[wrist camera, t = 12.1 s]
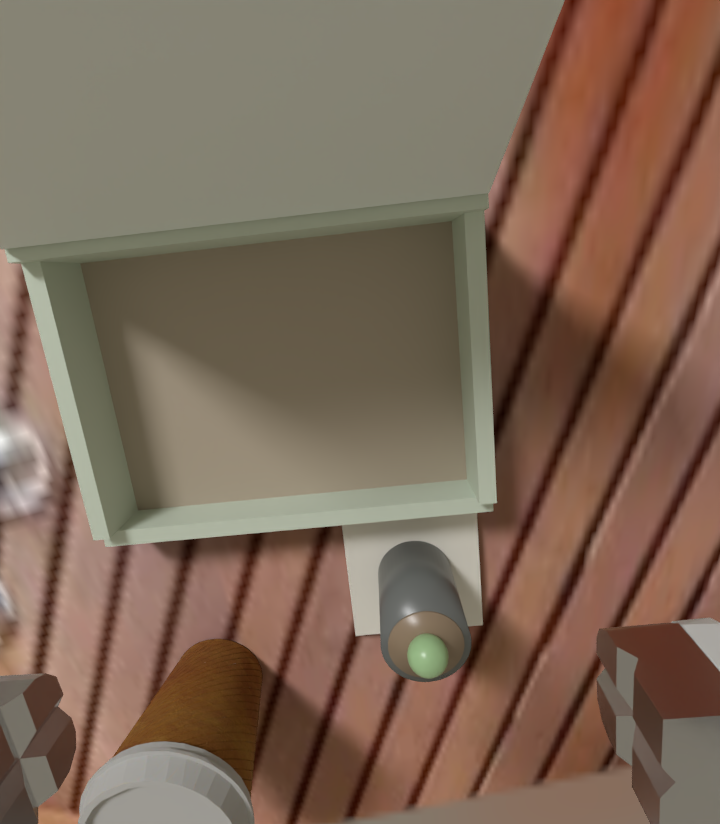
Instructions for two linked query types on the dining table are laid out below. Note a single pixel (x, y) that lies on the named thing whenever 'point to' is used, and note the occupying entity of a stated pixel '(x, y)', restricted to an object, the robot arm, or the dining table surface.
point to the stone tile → (379, 537)
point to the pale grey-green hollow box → (263, 250)
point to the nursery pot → (421, 613)
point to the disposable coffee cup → (187, 747)
